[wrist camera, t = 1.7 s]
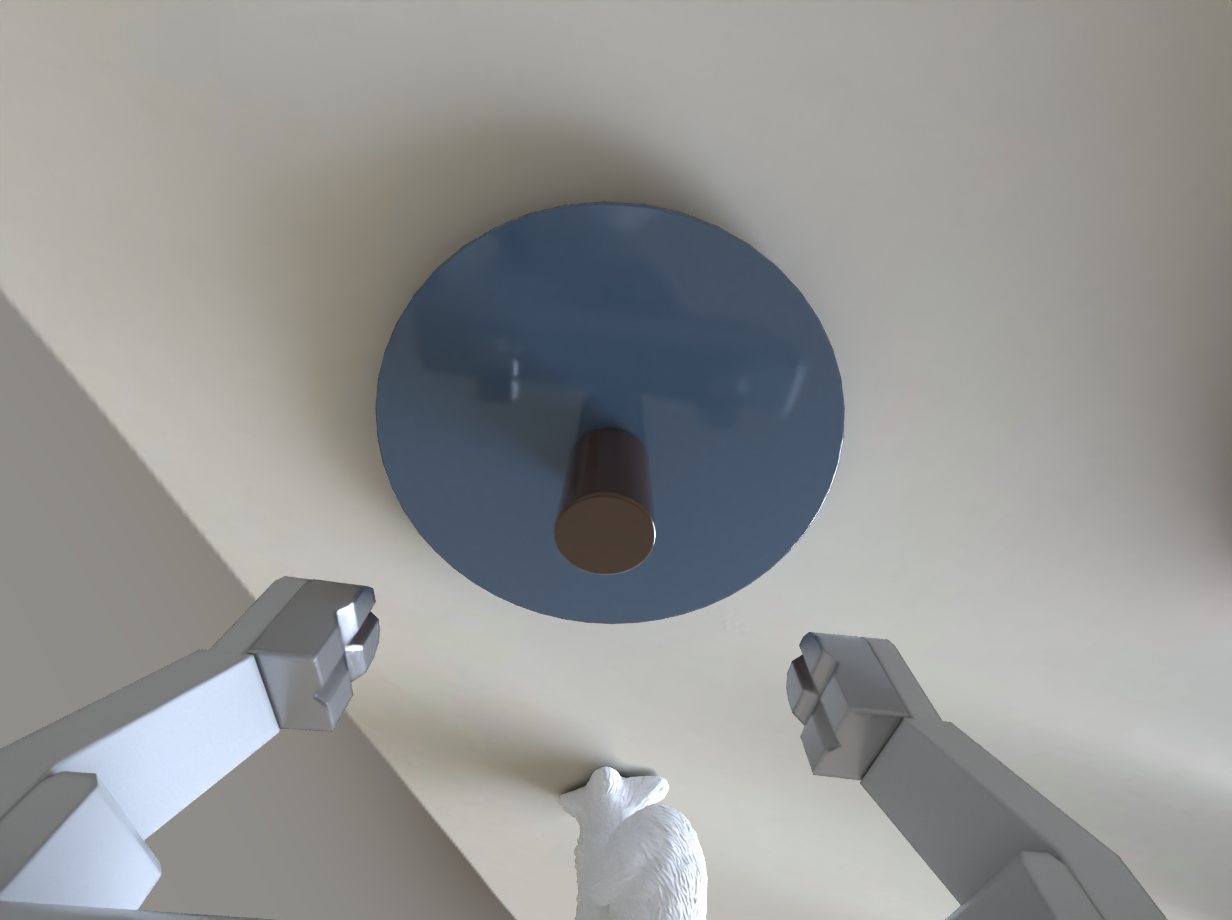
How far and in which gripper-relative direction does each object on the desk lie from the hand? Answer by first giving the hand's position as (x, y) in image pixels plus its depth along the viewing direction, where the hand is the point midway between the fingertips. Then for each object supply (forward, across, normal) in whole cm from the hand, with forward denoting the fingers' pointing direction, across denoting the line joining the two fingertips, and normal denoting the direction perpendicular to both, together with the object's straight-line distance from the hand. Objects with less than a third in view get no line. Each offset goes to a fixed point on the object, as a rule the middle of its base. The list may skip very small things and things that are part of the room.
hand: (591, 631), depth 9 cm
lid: (+6, 0, 0) cm, 7 cm away
